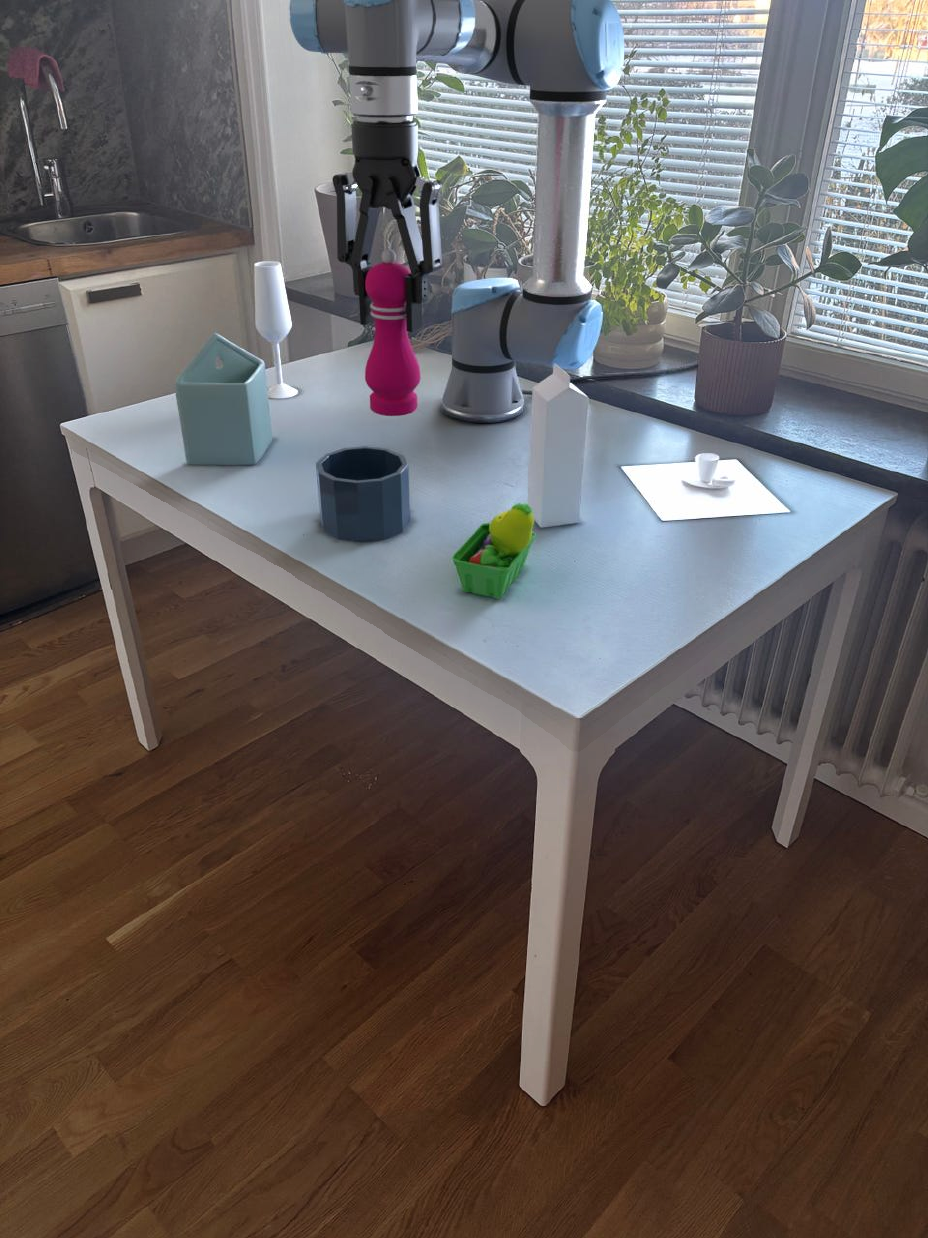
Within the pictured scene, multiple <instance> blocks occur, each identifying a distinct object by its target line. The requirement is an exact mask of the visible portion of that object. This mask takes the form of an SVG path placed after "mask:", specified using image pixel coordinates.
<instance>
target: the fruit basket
mask: <svg viewBox="0 0 928 1238" xmlns="http://www.w3.org/2000/svg"><path fill="white" fill-rule="evenodd" d="M534 525H535V520H534V517H533V514H532V509H531V508H530V507H529V506H528V505H527V503H522V502H518V503H515V504H514V505H512V507H511V509H509V510H506V511H503V512H501V513H499V514H496V515H495V516H494V517H493V518H492V519H491V521H490V523H489V522H485V523H482V524H480V525H479V526H478V527H477V529H476V530H475V531H474V532H473V533H472V534H471V535H470V536H469V538H468V539H467V540H466V541H465V542H464V543H463V544H461V547H459V548H458V550H457V551H456V552H455V553H454V554H453V555H452V557H451V560H452V563H453V565H454V566H455V569H456V572H457V575H458V580H459V582H460V585H461V589H462V591H463V592H465V593H473V594H474V595H479V596H483V597H489V598H491V597H492V598H494V599H498V600H500V599H501V598H502V597H503V595H504V594H505V592H506V591H507V590H508V589H509V588H510V587H511V584H512V583H513V582H514V581H515V580H516V579H517V577H518V575H519V574H521V572H522V571H523V570H524V567H525V564H526V560H527V558H528V555H529V552H530V549H531V546H532V544H533V543H534V540H535V538H536V533H535V532H534V531H533V528H534Z"/></svg>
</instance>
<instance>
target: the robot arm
mask: <svg viewBox="0 0 928 1238" xmlns="http://www.w3.org/2000/svg"><path fill="white" fill-rule="evenodd" d="M288 7H289V8H288V9H289V25H290V28H291V32H292V35H293V37H294V38H295V40H296V42H297V44H299V46H300V47H301V48H303V50H305V51H308V52H312V53H321V54H322V55H328V54H344V55H345V54H346V55H348V80H349V81H348V83H349V103H350V113H351V115H353V116H354V117H356V119H355V120H353V121H352V123H351V124H350V125H351V126H350V127H351V149H352V154H353V156H354V164H353V167H352V171H349V172H343V173H338V174H334V175H333V176H332V179H331V180H332V185H333V188H334V192H335V195H336V246H337V247H336V248H337V249H336V250H337V255H336V256H337V260H338V261H339V262H340V263H345V264H347V265H348V266H350V267H351V270H352V286H353V287H352V288H353V293H354V295H355V296H358V302H359V322H360V323H359V324H360V325H364V326H367V325H369V324H371V323H373V322H375V320H374V317H373V316H371V307H370V305H371V303H373V300H372V299H371V298H370V297H369V296H368V294H367V291H366V287H365V281H366V276H367V274H368V272H369V270H370V269H371V268H372V267H373V266H369V265H371V264H372V261H371V260H370V258H371V253H372V249H373V244H374V239H375V235H376V231H377V226H378V221H379V216H380V213H381V212H382V211H383V208H385V209H387V210H390V211H391V215H392V217H393V218H394V219H395V221H396V224H397V228H398V232H399V235H400V239H401V243H402V246H403V249H404V253H405V257H406V260H407V264H408V269H409V270H410V272H411V273H410V274H408V275H409V276H406V277H405V288H406V326H407V332H408V333H413V332H415V331H417V330H419V329H421V328H423V304H425V303H426V302H427V301H428V298H429V294H428V291H429V290H428V286H429V285H428V277H429V274H431V273H433V272H436V271H439V270H441V268H442V267H443V256H442V255H443V252H442V238H441V235H442V234H441V221H440V204H439V201H440V198H441V194H442V189H443V183H442V181H441V180H439V179H435V180H431V179H429V178H427V177H424V176H422V175H421V171H420V169H419V167H418V162H417V161H418V154H419V133H418V132H419V129H418V126H419V125H418V123H416V120H413V117H414V116H415V115H417V114H418V113H419V112H418V83H417V82H418V80H417V79H418V77H417V62H423V63H424V62H425V63H433V64H442V65H447V66H449V67H450V68H451V69H452V70H453V71H455V72H456V73H459V74H462V75H470V76H473V77H474V76H475V77H479V78H482V79H487V80H490V81H494V82H498V83H502V84H509V85H514V86H526V87H527V86H528V87H529V100H528V101H529V103H530V104H531V105H532V106H533V107H534V108H535V110H536V112H537V114H538V125H537V150H536V151H537V152H536V154H537V155H536V173H535V174H536V175H535V197H534V223H533V245H532V246H533V247H532V269H531V271H532V272H531V276H530V277H529V278H528V279H527V280H526V281H525V282H523V284H522V290H520V288H521V287H520V286H521V285H519V281H518V280H517V279H515V278H512V277H489V278H480V279H475V280H470V281H466V282H464V283H462V284H459V285H458V286H456V287H455V289H454V290H453V292H452V300H451V310H450V314H451V370H450V373H449V376H448V379H447V382H446V386H445V389H444V392H443V396H442V400H441V409H442V412H443V413H444V414H445V415H446V416H448V417H450V418H452V419H455V420H458V421H462V422H468V423H476V424H492V423H501V422H506V421H510V420H513V419H515V418H517V417H520V416H521V415H522V414H523V412H524V409H525V408H524V407H525V401H524V395H525V396H526V395H529V396H532V391H533V390H529V389H522V388H521V384H520V380H519V377H518V373H517V370H516V363H517V362H521V363H527V364H533V365H539V366H544V367H549V368H552V369H553V365H554V364H556V365H558V366H559V367H560V368H561V369H562V370H577V369H579V368H581V367H583V366H584V365H585V364H586V363H587V362H588V360H589V359H590V357H591V356H592V354H593V352H594V350H595V348H596V345H597V343H598V341H599V337H600V335H601V330H602V326H603V325H602V324H603V317H604V313H603V307H602V304H600V302H598V301H597V300H594V299H592V295H593V294H592V292H593V286H592V285H591V283H590V282H589V281H588V280H587V279H586V278H585V264H586V249H587V234H588V222H589V221H588V220H589V207H590V206H589V204H590V192H591V177H592V176H591V175H592V163H593V149H594V135H595V134H594V133H595V121H596V120H595V119H596V114H597V113H598V111H599V110H600V109H601V108H602V107H603V105H604V104H606V103H607V92H608V90H611V89H613V88H616V86H617V84H618V83H619V81H620V79H621V76H622V70H623V68H624V63H625V62H624V61H625V35H624V30H623V24H622V20H621V16H620V13H619V11H618V9H617V7H616V5H615V4H614V2H613V1H612V0H290V1H289V6H288ZM357 188H358V189H359V190H360V193H361V198H360V202H359V208H358V211H359V217H358V223H357V194H356V190H357ZM416 189H417V197H418V198H420V199H419V219H420V228H419V226H418V220H417V218H416V206H415V202H414V201H415V200H414V198H413V194H414V192H415V191H416ZM420 231H421V233H420ZM697 361H698V360H696V361H694V362H691V363H688V364H685V365H680V366H676V367H670V368H664V369H662V368H661V369H655V370H654V369H653V370H644V371H642V370H641V371H629V372H628V371H627V372H625V371H624V372H613V373H611V372H610V373H604V374H605V375H595V374H591V375H592V376H586V375H582V376H583V377H576V376H570V383H573V382H579V381H587V380H599V379H613V378H615V379H616V378H627V377H628V378H629V377H644V376H645V377H646V376H656V375H663V374H664V375H665V374H670V373H677V372H682V371H686V370H689V369H692V368H695V367H697V366H698V365H697ZM572 377H574V378H572Z"/></svg>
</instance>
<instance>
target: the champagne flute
mask: <svg viewBox="0 0 928 1238" xmlns="http://www.w3.org/2000/svg"><path fill="white" fill-rule="evenodd" d="M253 268H254V269H253V271H254V273H253V274H254V316H255V318H254V319H255V321H254V323H255V325H254V326H255V328H256V331H257V332H258V333H259V334H260V336H262V338H264V339H265V340H266V341H268V342H269V343H271V344H272V352H273V362H274V370H275V372H274V373H275V382H276V383H275V384H273V385H272V386H270V387H269V388H267V390H268V399H269V398H270V399H289V398H292V397H294V396H296V395H297V394H298V393H299V390H297V389H296V388H294V387H292V386H290V385H288V384H286V383H284V382H283V371H282V362H281V352H280V343H281V342H283V340H285V338H286V337H287V336H288V335H289V333H290V332H291V329H292V326H293V323H292V317H291V312H290V307H289V306H290V305H289V302H288V301H289V300H288V295H287V290H286V285H285V280H284V279H285V278H284V274H283V269H282V264H281V262H279V261H276V260H275V261H273V260H268V261H267V260H265V261H259V262H255V263H254V265H253Z"/></svg>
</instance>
